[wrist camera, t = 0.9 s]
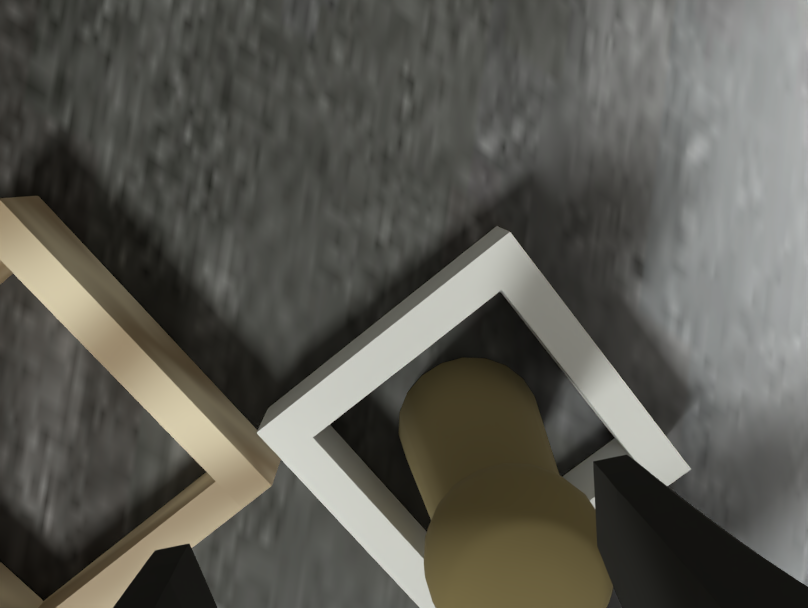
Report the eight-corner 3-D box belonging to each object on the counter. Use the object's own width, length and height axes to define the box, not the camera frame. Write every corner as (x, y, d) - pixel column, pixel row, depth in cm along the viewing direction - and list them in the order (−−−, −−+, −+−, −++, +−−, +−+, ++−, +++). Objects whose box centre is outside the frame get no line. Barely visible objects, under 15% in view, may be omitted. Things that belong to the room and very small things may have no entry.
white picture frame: (662, 442, 27) (691, 469, 24) (445, 599, 28) (451, 641, 25) (497, 225, 24) (509, 231, 22) (268, 408, 26) (256, 433, 23)
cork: (476, 327, 25) (549, 443, 14) (567, 428, 26) (699, 604, 16) (368, 422, 26) (361, 599, 15) (462, 516, 27) (517, 743, 16)
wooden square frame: (281, 456, 26) (268, 493, 23) (44, 642, 27) (2, 700, 24) (38, 195, 23) (-13, 198, 20) (-211, 416, 25) (-293, 449, 22)
